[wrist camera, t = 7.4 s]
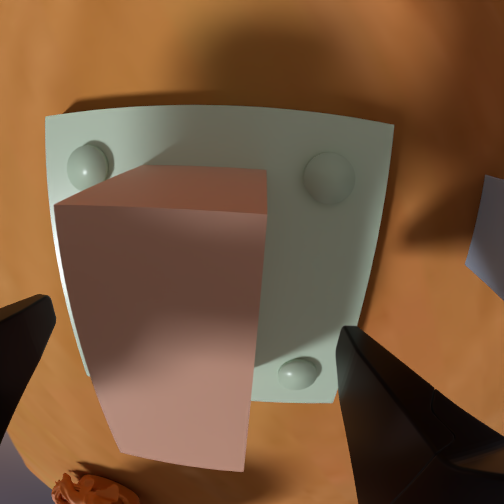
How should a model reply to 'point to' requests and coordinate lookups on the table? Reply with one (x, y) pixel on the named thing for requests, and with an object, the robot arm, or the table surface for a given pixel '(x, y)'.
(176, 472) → the table surface
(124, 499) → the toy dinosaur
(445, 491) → the robot arm
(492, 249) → the blue brick
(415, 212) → the table surface
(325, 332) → the plate
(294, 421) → the table surface
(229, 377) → the terracotta brick
